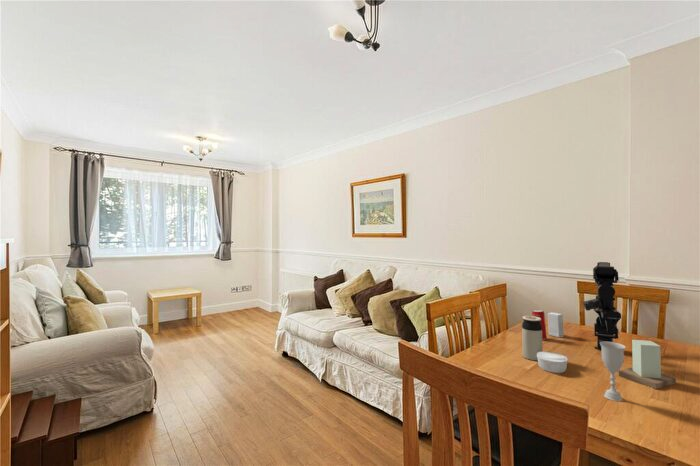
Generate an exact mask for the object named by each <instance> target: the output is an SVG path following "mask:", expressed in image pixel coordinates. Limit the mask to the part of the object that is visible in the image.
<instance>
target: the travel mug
mask: <svg viewBox="0 0 700 466" xmlns="http://www.w3.org/2000/svg"><path fill="white" fill-rule="evenodd" d="M522 320H523V322H522V323H521V334H522V335H521V336H522V338H521V341H522V342H521V343H522V347H521V348H522V356H523V358H525V360H529V361H530V360H531V361H538V358H537V353H538V352H544V351H543V350H544V349H543V340H542V325H541V323H540V321H541V318H539V317H535V316H532V315H523V316H522Z"/></svg>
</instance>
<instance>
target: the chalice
mask: <svg viewBox="0 0 700 466" xmlns="http://www.w3.org/2000/svg"><path fill="white" fill-rule="evenodd" d="M600 345H601V350H600V351H601V352H600V353H601V360H602V362H603V364H604V366H605V368H606V370H607V371H608V372H610V376H609V378H610V381H609V384H610V386H611V387H610V388H608V389H606V390H605V393H604V394H603V397H604V398H606V399H608V400H611V401H614V402H623V398H622V395H621V393H620V392H619V391H618V390H617V389H616V385H617V383H616V382H615V381H616V375H615V374H616V373H619V371H620V370H621V368H622V367H623V364H624V362H625V357H624V356H625V349H626V346H625V345H624V344H622V343H617V342H616V341H615V342H614V341H613V342H607V341H602V342H600Z"/></svg>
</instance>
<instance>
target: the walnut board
mask: <svg viewBox="0 0 700 466" xmlns="http://www.w3.org/2000/svg"><path fill="white" fill-rule="evenodd" d="M618 376H619V377H621V378H623V379H627V380H629V381H632V382H635V383H637V384H639V385H642V386H645V385H646V387H648V386H649V388H651V387H652V388H651V389H654V388H655V389H654V390H658V388H659V389H661V387H662V388H666V387H668V386H672V385H675V383H677V377H674V376H671V375H667V374H665V373H662V372H661V378H649V377H641V376H640V375H638V374H637V373H636V372H634V371H633V366H632V367H630V368H625V369H620V370H619V371H618Z"/></svg>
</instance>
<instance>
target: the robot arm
mask: <svg viewBox="0 0 700 466" xmlns="http://www.w3.org/2000/svg"><path fill="white" fill-rule="evenodd" d="M596 264H597V265H596V266H595V267H593V269H592V278H593V280H594V283H595V285H596V286H597V295H595V298H594V299H589V300H584V301H582V302H581V303H582V305H583V308H584V310H585V311H591V310H593V311H594V312H595V313H596V314H597V315H598V316H597V317H596V319H595V323H594V324H593V327H594V328H593V329H594V337H597V340H596V341H597V345H596V346H594V349H597V350H600V351H601V345H600V342H602V341H607V342H614V339H615V340H618V339H619V328H618V327H617V324H618V323H619V321H620V319H622V313H621V312H620V311H618V310H616V308H617V307H616V306H615V301H616V297H615V295H616V289H615V285H614V284H618V282H619V278H620V277H619V271H618V270H617V269H616V268H615V267H614V266H612V265H611V262H608V261H599V262H597V263H596Z"/></svg>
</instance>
